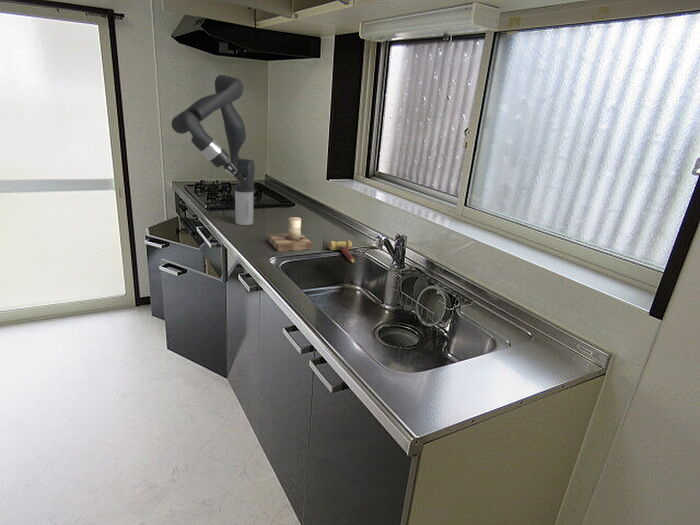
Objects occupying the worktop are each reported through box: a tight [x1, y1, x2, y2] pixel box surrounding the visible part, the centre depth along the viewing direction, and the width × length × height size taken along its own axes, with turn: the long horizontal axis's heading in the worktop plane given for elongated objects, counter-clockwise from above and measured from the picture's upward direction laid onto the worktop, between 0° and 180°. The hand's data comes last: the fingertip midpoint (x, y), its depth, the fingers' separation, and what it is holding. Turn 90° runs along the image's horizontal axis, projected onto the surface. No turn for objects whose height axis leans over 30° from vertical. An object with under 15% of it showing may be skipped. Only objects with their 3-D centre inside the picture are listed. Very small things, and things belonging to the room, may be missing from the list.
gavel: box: [328, 240, 355, 264], centre depth 199 cm, size 21×5×10 cm
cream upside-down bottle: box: [287, 216, 302, 240], centre depth 206 cm, size 6×6×12 cm
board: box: [267, 233, 313, 252], centre depth 207 cm, size 16×16×3 cm
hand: (242, 181), depth 194 cm, fingers open, 8 cm apart
